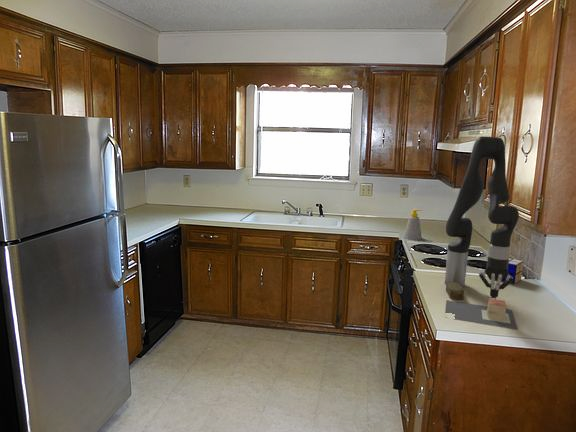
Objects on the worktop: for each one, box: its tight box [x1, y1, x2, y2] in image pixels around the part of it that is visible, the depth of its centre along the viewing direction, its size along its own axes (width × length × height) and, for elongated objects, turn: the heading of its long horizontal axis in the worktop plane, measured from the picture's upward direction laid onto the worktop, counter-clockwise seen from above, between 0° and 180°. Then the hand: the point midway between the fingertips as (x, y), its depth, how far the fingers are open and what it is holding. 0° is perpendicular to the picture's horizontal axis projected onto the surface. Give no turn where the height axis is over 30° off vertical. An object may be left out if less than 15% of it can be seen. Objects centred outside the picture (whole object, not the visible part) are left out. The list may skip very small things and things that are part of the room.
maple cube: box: [487, 298, 507, 320], centre depth 172 cm, size 6×6×6 cm
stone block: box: [445, 282, 465, 301], centre depth 195 cm, size 6×12×5 cm, turn 172°
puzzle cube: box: [502, 257, 524, 285], centre depth 218 cm, size 10×10×10 cm
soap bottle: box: [403, 209, 423, 241], centre depth 301 cm, size 12×12×20 cm
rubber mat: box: [444, 300, 519, 331], centre depth 175 cm, size 20×26×1 cm
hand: (493, 297), depth 172 cm, fingers closed
